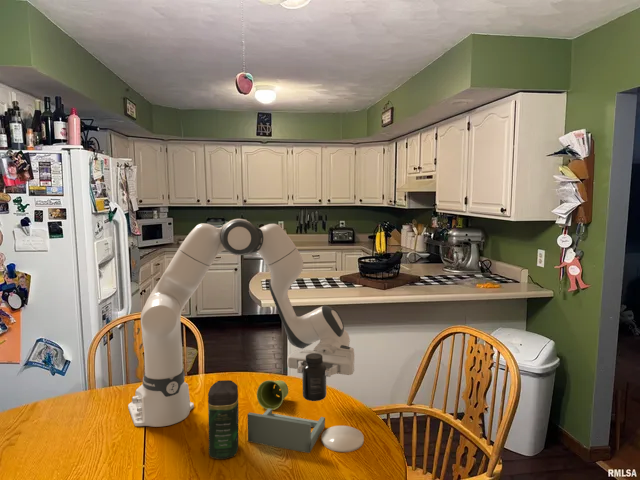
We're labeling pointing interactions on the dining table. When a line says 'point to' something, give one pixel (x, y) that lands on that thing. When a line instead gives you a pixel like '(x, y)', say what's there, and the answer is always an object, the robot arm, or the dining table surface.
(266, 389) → the plant pot
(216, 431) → the coffee jar
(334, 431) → the white round glossy part
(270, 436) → the cold frame
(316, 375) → the supplement bottle
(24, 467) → the dining table surface
